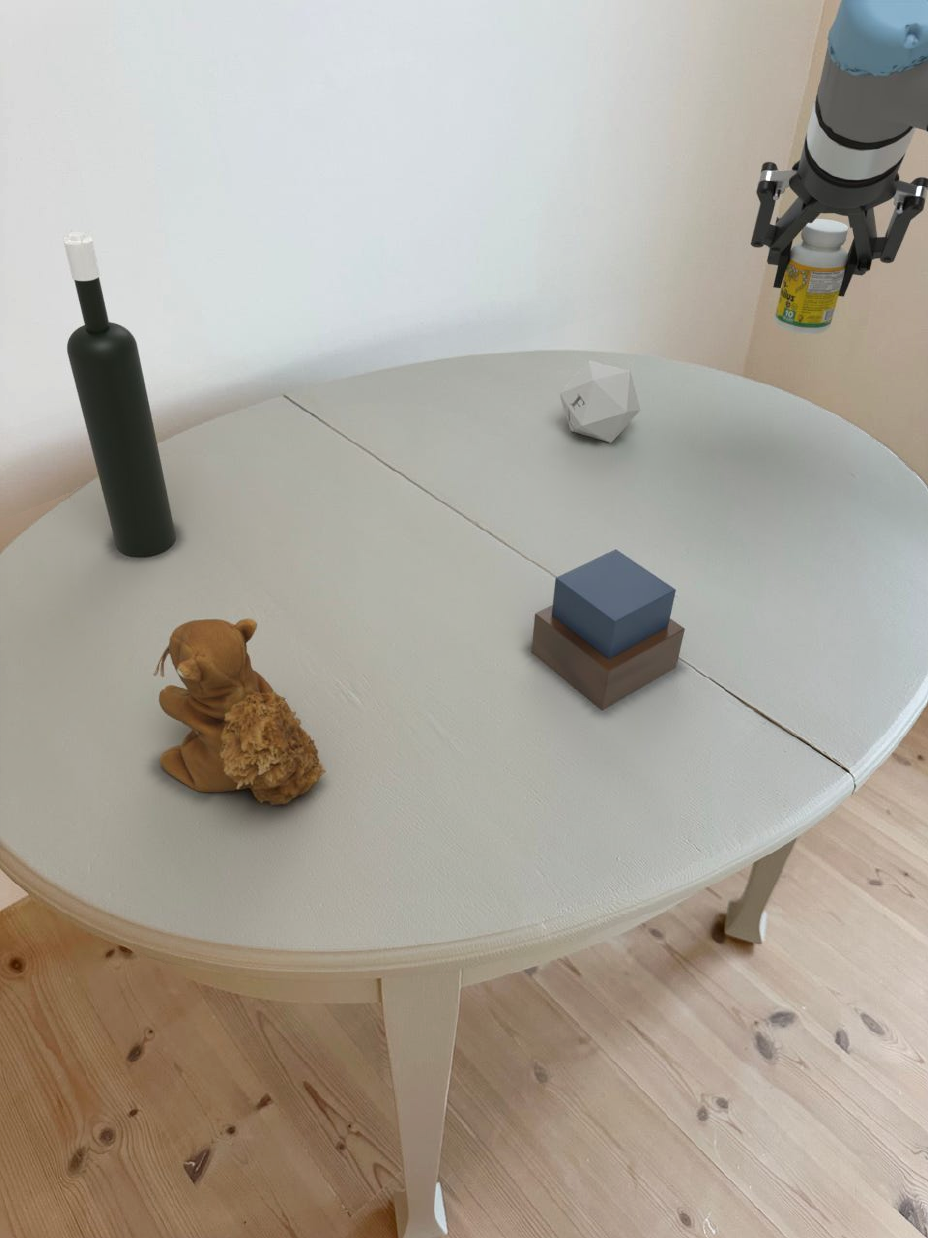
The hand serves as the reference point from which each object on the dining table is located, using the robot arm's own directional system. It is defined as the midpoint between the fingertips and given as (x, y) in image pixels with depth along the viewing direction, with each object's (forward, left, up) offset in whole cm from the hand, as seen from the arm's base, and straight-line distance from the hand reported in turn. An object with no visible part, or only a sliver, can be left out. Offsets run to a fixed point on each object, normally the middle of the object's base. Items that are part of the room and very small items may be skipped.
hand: (811, 278), depth 95 cm
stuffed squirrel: (-29, +62, -22) cm, 72 cm away
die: (+13, +15, -22) cm, 30 cm away
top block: (-25, +31, -18) cm, 43 cm away
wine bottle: (+4, +68, -22) cm, 72 cm away
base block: (-25, +31, -22) cm, 45 cm away
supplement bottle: (-3, +2, -4) cm, 5 cm away
